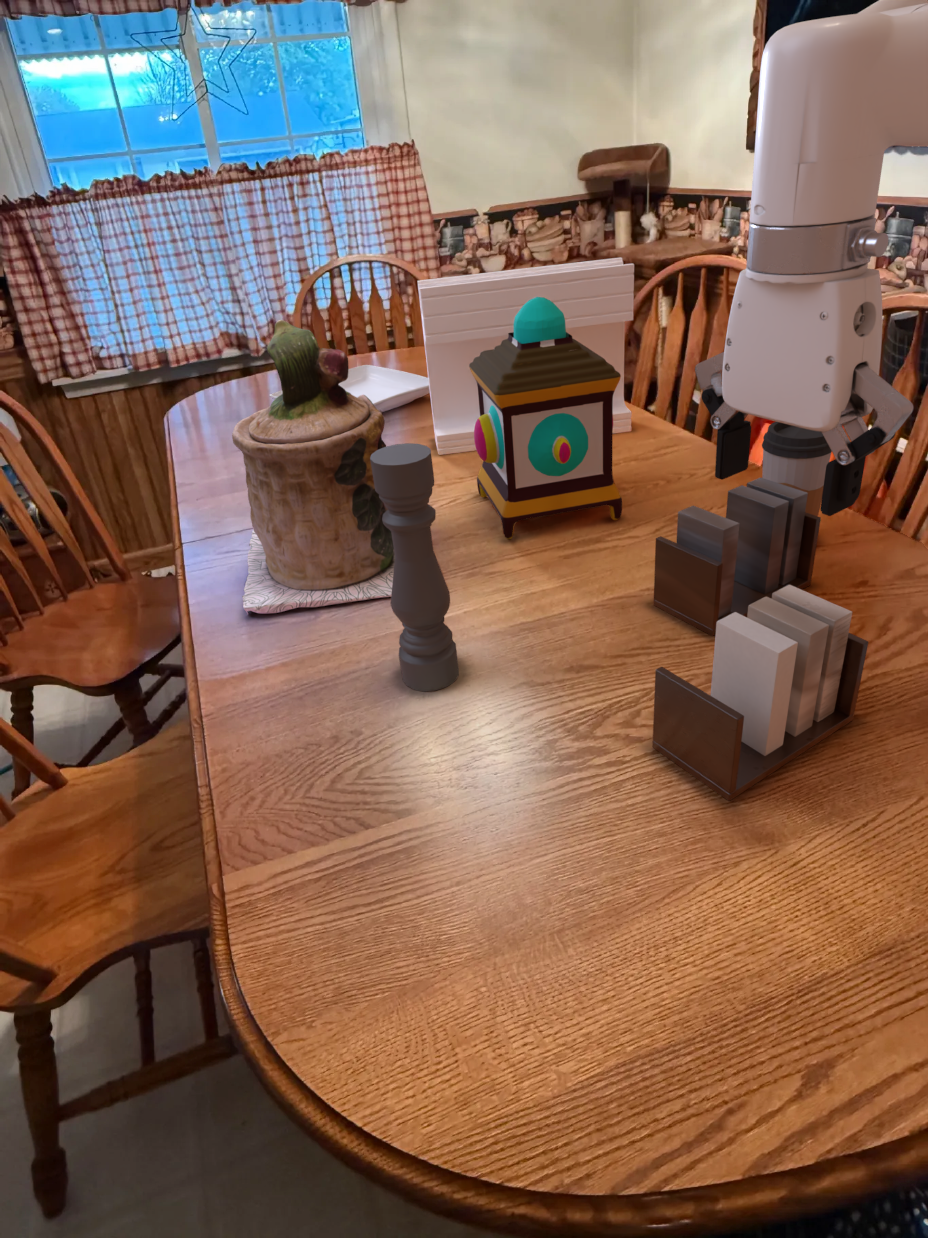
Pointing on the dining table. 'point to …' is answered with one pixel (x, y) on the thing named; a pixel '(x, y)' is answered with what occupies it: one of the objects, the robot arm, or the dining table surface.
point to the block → (484, 315)
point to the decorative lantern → (544, 421)
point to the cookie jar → (313, 485)
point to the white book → (754, 678)
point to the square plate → (382, 386)
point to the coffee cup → (796, 460)
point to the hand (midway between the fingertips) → (781, 490)
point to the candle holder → (415, 566)
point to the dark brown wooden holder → (735, 554)
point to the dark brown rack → (817, 706)
